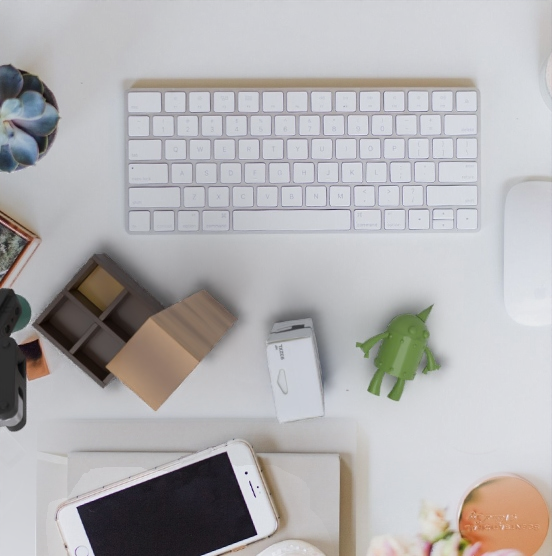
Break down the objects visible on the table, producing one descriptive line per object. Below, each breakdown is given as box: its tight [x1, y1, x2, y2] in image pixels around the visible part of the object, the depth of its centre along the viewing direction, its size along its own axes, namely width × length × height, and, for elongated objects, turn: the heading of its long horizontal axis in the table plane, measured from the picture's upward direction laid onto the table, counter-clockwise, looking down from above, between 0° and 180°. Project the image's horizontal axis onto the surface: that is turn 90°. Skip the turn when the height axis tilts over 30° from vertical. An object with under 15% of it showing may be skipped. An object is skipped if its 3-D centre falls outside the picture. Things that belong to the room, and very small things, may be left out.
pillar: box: [106, 288, 238, 412], centre depth 57 cm, size 6×6×22 cm
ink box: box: [265, 317, 326, 425], centre depth 62 cm, size 8×5×12 cm, turn 9°
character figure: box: [355, 303, 441, 402], centre depth 65 cm, size 12×5×12 cm
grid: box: [31, 252, 167, 389], centre depth 67 cm, size 11×11×3 cm
